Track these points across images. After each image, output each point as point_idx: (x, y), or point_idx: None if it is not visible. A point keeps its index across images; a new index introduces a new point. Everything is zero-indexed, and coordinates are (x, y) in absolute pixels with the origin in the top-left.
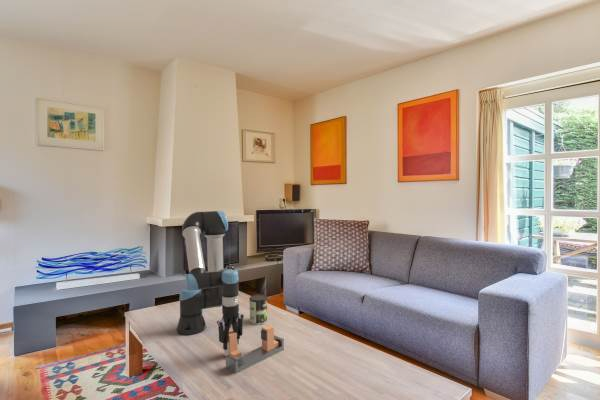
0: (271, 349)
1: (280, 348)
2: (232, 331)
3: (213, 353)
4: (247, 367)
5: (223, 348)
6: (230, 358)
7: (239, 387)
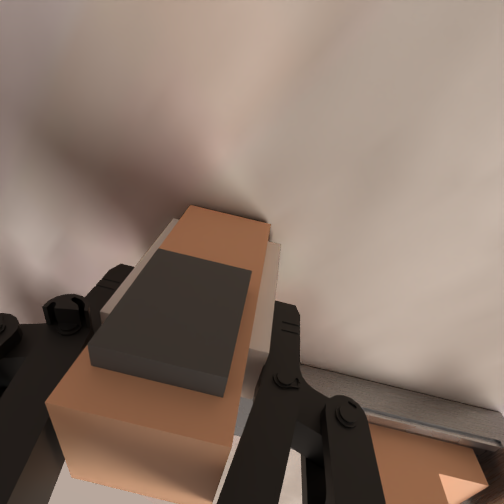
0: None
1: None
2: (211, 462)
3: (133, 68)
4: None
5: (113, 270)
6: None
7: None
